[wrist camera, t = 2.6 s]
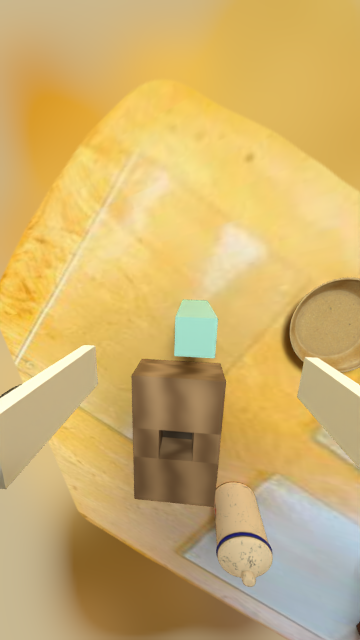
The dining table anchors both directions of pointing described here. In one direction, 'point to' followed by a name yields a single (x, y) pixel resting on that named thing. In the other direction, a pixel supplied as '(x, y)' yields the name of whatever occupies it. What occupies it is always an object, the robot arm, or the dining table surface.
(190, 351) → the peg
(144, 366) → the hole board
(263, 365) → the dining table surface
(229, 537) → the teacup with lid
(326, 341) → the plant saucer
